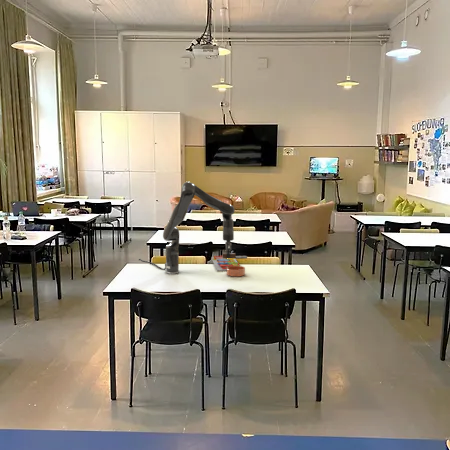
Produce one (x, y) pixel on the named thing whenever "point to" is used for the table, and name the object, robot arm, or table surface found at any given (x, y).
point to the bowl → (235, 271)
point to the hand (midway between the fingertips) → (228, 257)
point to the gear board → (223, 263)
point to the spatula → (234, 256)
